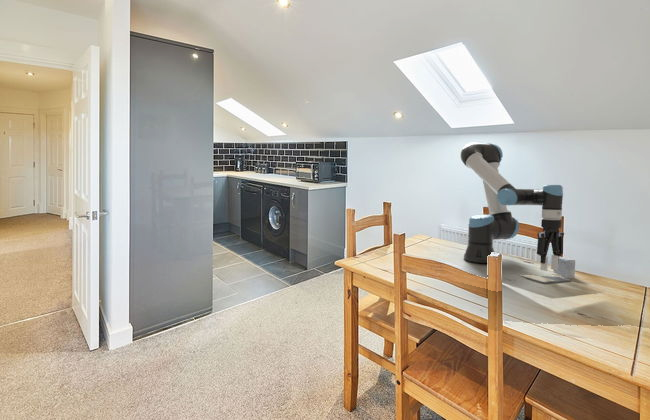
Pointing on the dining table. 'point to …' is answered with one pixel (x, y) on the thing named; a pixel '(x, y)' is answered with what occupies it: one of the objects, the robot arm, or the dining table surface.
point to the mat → (545, 279)
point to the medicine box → (566, 267)
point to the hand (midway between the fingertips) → (549, 269)
